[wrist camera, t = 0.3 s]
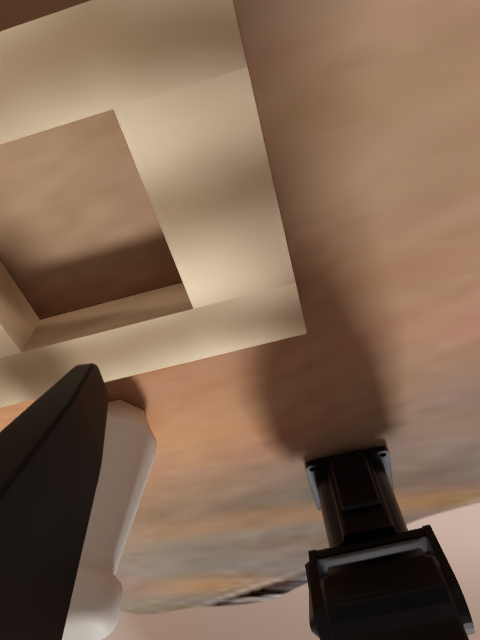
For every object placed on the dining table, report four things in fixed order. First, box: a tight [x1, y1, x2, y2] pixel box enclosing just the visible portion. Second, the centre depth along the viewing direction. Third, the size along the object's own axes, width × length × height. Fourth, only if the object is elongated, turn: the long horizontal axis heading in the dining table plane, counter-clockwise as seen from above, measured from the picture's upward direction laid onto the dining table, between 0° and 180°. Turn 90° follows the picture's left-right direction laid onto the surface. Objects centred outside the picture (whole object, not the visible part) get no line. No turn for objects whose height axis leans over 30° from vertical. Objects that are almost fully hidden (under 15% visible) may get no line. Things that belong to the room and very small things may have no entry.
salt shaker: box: [62, 400, 156, 640], centre depth 25 cm, size 6×6×13 cm
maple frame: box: [0, 0, 307, 407], centre depth 21 cm, size 16×20×3 cm
